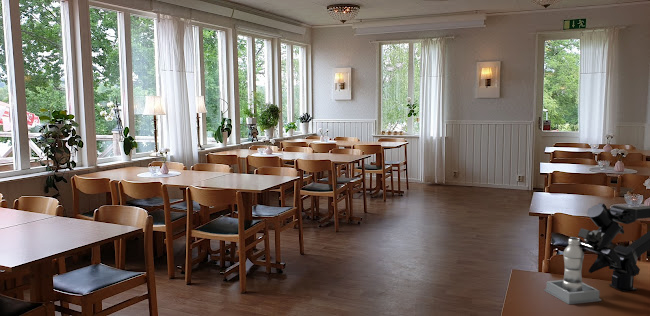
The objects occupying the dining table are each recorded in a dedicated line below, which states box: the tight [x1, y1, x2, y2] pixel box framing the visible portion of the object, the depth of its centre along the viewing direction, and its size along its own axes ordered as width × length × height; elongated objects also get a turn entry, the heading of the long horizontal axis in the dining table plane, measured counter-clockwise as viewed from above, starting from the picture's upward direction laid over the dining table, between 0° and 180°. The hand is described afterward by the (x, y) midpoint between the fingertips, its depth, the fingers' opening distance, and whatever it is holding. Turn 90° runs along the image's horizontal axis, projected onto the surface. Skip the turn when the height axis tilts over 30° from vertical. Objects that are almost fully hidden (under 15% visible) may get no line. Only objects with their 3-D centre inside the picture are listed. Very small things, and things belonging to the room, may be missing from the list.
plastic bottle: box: [562, 237, 585, 292], centre depth 176 cm, size 6×7×20 cm
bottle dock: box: [543, 279, 602, 305], centre depth 177 cm, size 13×13×4 cm
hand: (579, 268), depth 177 cm, fingers open, 9 cm apart
